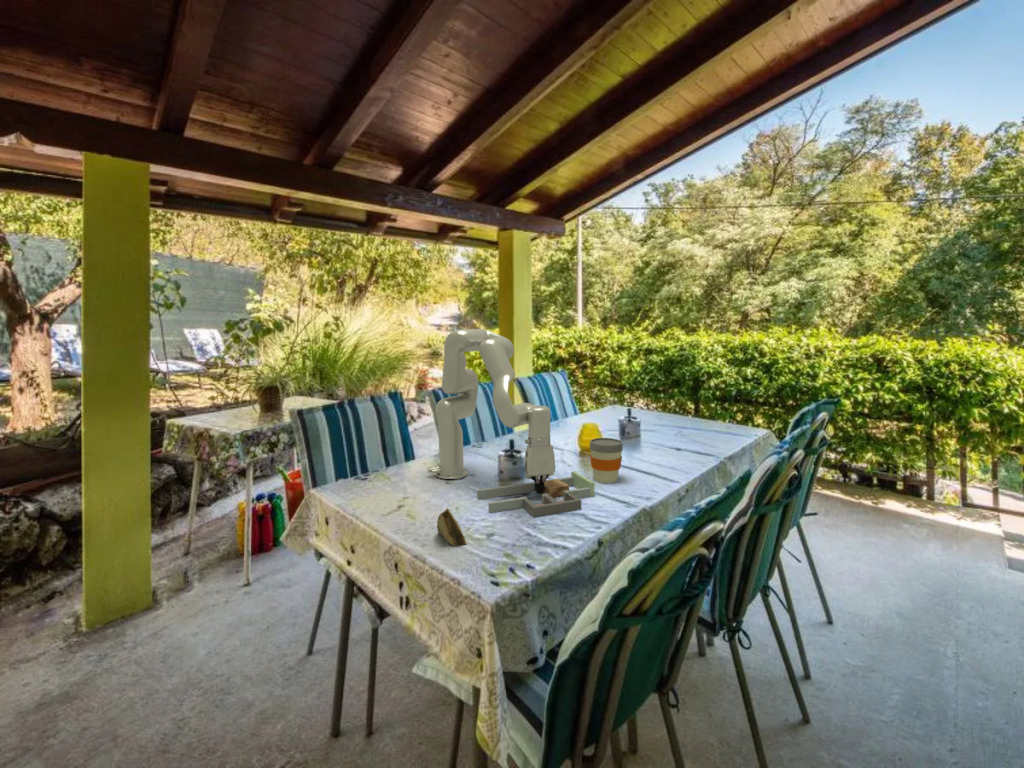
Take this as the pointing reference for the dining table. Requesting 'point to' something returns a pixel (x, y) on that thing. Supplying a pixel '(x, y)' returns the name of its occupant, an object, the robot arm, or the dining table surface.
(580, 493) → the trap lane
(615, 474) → the reusable coffee cup
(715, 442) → the dining table surface
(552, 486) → the walnut block
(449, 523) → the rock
